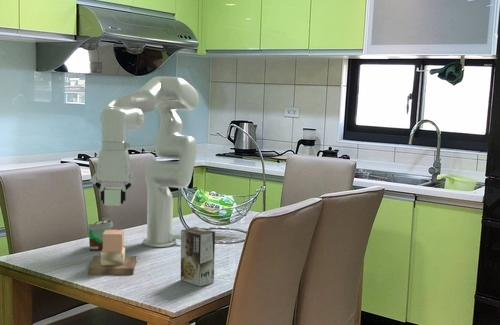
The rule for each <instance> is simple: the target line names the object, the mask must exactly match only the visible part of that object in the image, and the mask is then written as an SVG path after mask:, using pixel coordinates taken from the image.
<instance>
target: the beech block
mask: <svg viewBox="0 0 500 325" xmlns="http://www.w3.org/2000/svg"><path fill="white" fill-rule="evenodd" d="M100 256H101V265H123V263H124V260H125V256H126V247H125V246H124V248H123V251H122V252H103V249H102V251H100Z"/></svg>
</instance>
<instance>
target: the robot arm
mask: <svg viewBox="0 0 500 325" xmlns="http://www.w3.org/2000/svg"><path fill="white" fill-rule="evenodd" d="M199 102H200V97H199V94H198V91H197V90H196V89H195V87H193V86H192V85H191V84H190V83H189V82H188V81H186V80H185V79H184V78H182V77H180V76H155V77H152V78H151V79H150V80H148V82H146V83H145V84H144V85H143V86H142V87H141V88H139V89H138V90H136V91H132V92H130V93H128V94H125V95H124V94H123V95H121V96H118V97H116V98H114V99H113V100H111V101H110V102H108V103H107V104H106V105H105V106H104V107H103V109H102V110H101V113H100V115H99V116H100V118H99V119H100V123H101V150H99V152H98V157H97V166H96V172H95V173H94V174H93V175H92V177H91V178H90V179H89V182H90V183H91V184H93V185H95V187H96V188H97V189H98V190H99V191H100V201H102V205H104V190H105V188H106V185H107V183H119V184H120V188H122V190H121V205H123V204H124V202H125V201H126V198H127V197H126V193H127V190H128V189H130V188H131V187H132V186H133V185H134V184H136V183H137V179H136V177H135V176H134V175H133V173H132V172H131V165H130V164H131V161H130V155H129V151H128V150H126V149H129V148H130V149H131V143H128V142H127V131H137V130H140V129H141V128H142V127H143V125H144V124H145V114H147V113H151V112H153V111H154V110H155V109H156V108H157V111H158V114H159V117H160V124H159V129H158V133H157V137H156V142H155V148H154V153H155V155H156V156H157V157H159V158H160V159H165V160H152V161H150V162H149V163H147V165H146V166H145V169H144V177H145V183H146V187H147V188H146V189H147V190H146V191H147V192H146V193H147V199H146V200H147V204H146V206H147V208H146V210H147V212H146V219H147V220H146V237H145V238H144V239H142V244H143V245H144V246H147V247H151V248H167V247H172V246H174V245H176V244H177V240H181V233H175V232H174V230H173V221H174V220H173V218H174V216H173V213H174V211H173V210H174V198H173V194H172V192H171V190H170V188H175V189H176V188H177V189H185V188H187V187H188V186H189V185H190V183H191V180H192V177H193V172H194V169H195V163H196V159H197V155H198V154H197V153H198V145H197V144H198V143H197V140H196V138H194V137H193V136H191V135H188V134H187V135H186V134H182V131H183V126H184V124H183V121H182V119H181V117H180V116H179V114H178V112H176V111H187V112H188V111H190V112H191V111H194V110H196V108H197V107H198V106H199ZM170 160H175V161H170ZM176 160H177V161H176ZM129 180H130V181H129ZM128 181H129V182H128ZM100 182H101V183H100Z"/></svg>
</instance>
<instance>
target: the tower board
mask: <svg viewBox="0 0 500 325" xmlns="http://www.w3.org/2000/svg"><path fill="white" fill-rule="evenodd" d="M136 265H137V255H125V260H124V263H123V265H101V255H94V256H93V257H92V259H91V262H90V263H89V265H88V267H87V275H88V276H89V275H134V272H135V267H136Z"/></svg>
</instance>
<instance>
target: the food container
mask: <svg viewBox="0 0 500 325" xmlns="http://www.w3.org/2000/svg"><path fill="white" fill-rule="evenodd" d="M101 219H102V220H100V221H95V223H92V224H90V223H89V224H88V228H87V230H88V238H89V252H101V250H102V249H103V233H104V231H105V230H112V228H113V227H114V225H113V221H112V220H111V218H108V217H102V218H101Z"/></svg>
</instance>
